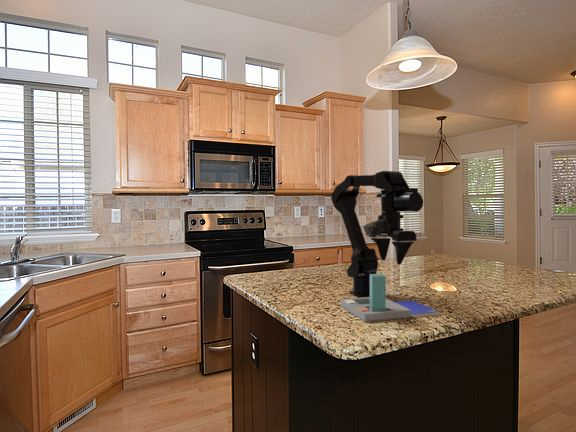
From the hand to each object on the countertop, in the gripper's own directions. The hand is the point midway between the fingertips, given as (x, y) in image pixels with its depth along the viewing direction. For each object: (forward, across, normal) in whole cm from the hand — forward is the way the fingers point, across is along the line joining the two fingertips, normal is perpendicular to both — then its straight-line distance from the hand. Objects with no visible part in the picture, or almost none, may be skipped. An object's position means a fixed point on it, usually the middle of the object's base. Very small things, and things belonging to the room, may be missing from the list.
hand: (390, 262), depth 112 cm
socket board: (+13, +5, -9) cm, 17 cm away
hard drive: (+14, +7, +3) cm, 16 cm away
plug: (+13, +9, -10) cm, 19 cm away
